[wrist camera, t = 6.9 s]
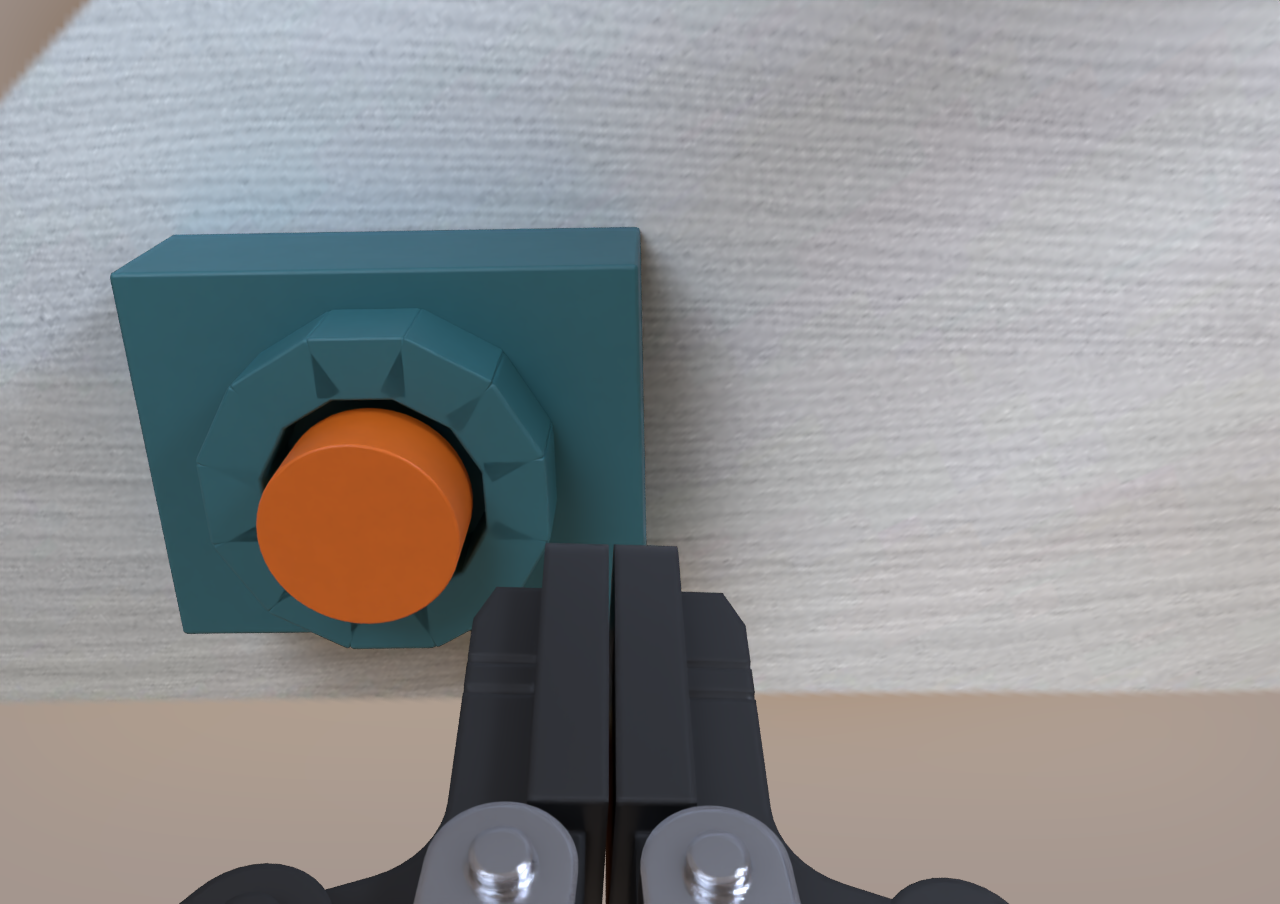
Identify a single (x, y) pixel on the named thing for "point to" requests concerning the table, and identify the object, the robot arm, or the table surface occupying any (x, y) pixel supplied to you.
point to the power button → (366, 516)
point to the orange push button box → (388, 397)
